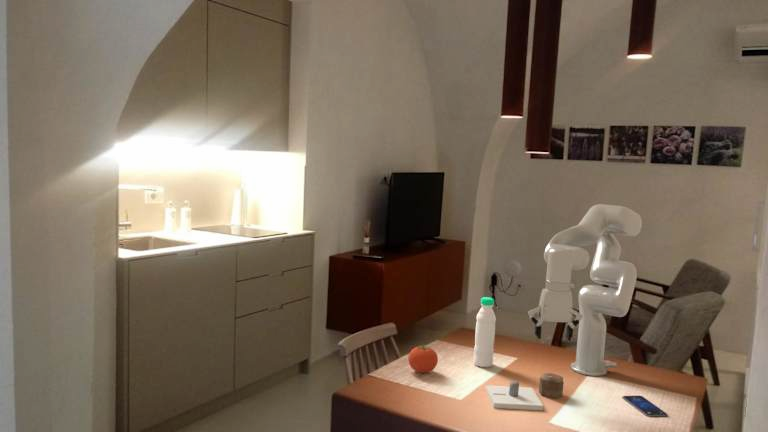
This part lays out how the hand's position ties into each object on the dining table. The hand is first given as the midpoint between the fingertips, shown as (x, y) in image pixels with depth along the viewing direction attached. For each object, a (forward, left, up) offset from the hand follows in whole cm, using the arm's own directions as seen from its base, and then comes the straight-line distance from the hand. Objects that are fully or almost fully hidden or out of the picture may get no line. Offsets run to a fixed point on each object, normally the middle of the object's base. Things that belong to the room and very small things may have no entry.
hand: (553, 338), depth 191 cm
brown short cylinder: (-1, 0, -19) cm, 19 cm away
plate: (+13, +6, -19) cm, 23 cm away
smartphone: (-29, +6, -19) cm, 35 cm away
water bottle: (+17, -25, -19) cm, 36 cm away
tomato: (+40, -14, -19) cm, 47 cm away
